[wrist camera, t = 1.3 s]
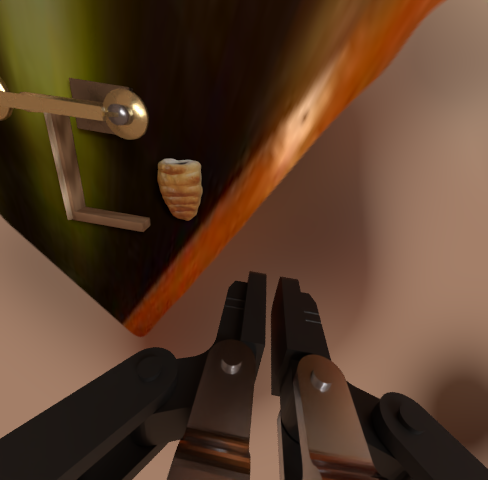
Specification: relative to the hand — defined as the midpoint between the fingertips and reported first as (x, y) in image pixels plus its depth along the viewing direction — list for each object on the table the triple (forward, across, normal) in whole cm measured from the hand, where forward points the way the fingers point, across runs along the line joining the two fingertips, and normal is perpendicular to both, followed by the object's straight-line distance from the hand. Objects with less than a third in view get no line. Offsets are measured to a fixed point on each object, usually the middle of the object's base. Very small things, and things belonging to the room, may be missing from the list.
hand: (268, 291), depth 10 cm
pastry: (+28, +13, +4) cm, 30 cm away
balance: (+27, +24, -5) cm, 36 cm away
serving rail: (+27, +25, +4) cm, 37 cm away
